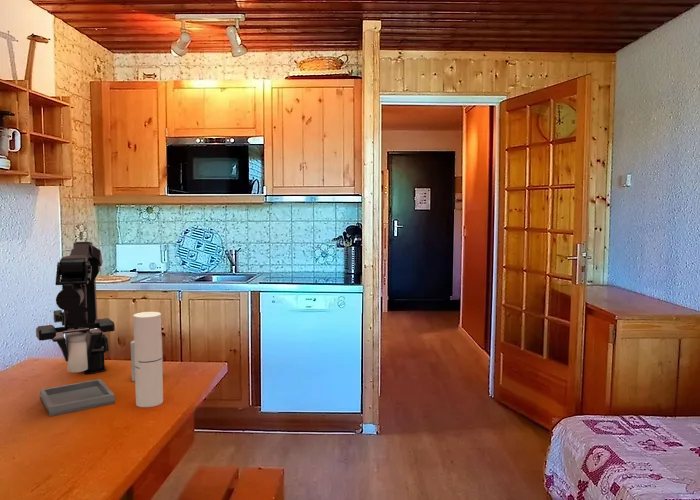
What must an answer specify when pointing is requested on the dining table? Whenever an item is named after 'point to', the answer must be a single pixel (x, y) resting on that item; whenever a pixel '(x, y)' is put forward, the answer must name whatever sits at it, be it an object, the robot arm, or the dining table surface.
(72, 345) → the shaker
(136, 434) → the dining table surface
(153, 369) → the cylindrical container
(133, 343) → the supplement box
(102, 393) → the tray
